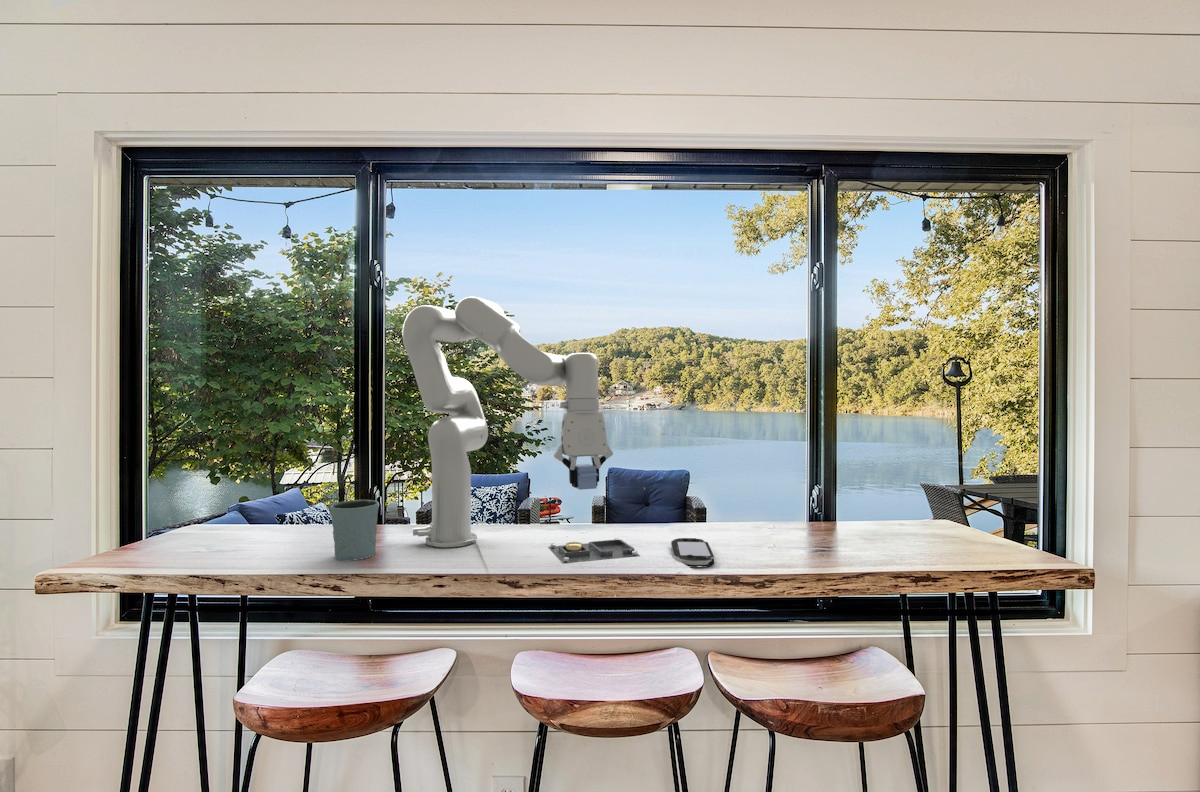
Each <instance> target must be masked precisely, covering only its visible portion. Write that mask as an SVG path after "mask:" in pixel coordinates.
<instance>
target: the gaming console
mask: <svg viewBox="0 0 1200 792" xmlns="http://www.w3.org/2000/svg"><path fill="white" fill-rule="evenodd" d="M670 547H671V552H672V556H673V557H672V558H673V559H674V560H675V561H677V562H680V563H682V564H683V565H685V566H686V567H688V566H708V567H710V566H712V565H713V564H714V563H715V556H714V553H713V551H712V548H711V547H710V544H709V542H708V541H705V540H704V539H702V538H696V537H695V538H694V537H692V538H691V537H690V538H688V537H680V538H675V539H672V540H671V541H670ZM709 565H710V566H709Z"/></svg>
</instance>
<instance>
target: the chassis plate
mask: <svg viewBox="0 0 1200 792" xmlns="http://www.w3.org/2000/svg"><path fill="white" fill-rule="evenodd" d="M547 548H548V549H549V550H550V551H551V552H552V553H553V555H554V556H556V558H557V559H558V560H559V561H560V563H562V564H569V563H570V564H571V563H572V564H573V563H582V562H583V563H585V562H592V561H602V560H603V561H604V560H613V559H614V560H615V559H624V558H633V557H634V558H635V557H641V555H640V554H638V550H635V547H633V546H631V545H630V544H629V543H627V542H625V541H624V540H622V539H619V538H617V537H615V538H613V539H608V540H607V539H605V540H597V541H595V540H594V541H589V542H588V543H582V551H572V552H567V551H566V544H565V545H556V543H554V542H553V543H550V544H549V546H547Z"/></svg>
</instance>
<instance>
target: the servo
mask: <svg viewBox="0 0 1200 792" xmlns="http://www.w3.org/2000/svg"><path fill="white" fill-rule="evenodd" d="M576 470H577V482H578V487H576V488H575V489H577V490H579V491H581V490H593V489H597V488H598V485H596V476H598V473H596V466H593V465H592V463H591V464H590V463H581V464H577V463H576Z"/></svg>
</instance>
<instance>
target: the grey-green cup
mask: <svg viewBox="0 0 1200 792" xmlns="http://www.w3.org/2000/svg"><path fill="white" fill-rule="evenodd" d="M379 504H380V503H379V501H377V500H373V499H351V500H343V501H340V502H339V501H338V502H336V503H333V504H331V505H330V506H329V507H330V508H329V509H330V513H331V514H330V516H331V525H332V529H333V530H332V535H333V536H332V537H333V541H334V544H333V545H334V547H333V548H334V558H335V559H336V558H337V559H340V560H339V561H342V560H354V559H361V558H366V557H369V556H372V555H374V556H375V554H376V547H377V546H376V543H377V524H378V514H379ZM372 557H373V556H372ZM369 558H370V557H369ZM337 559H336V560H337ZM366 559H367V558H366ZM354 561H355V560H354Z"/></svg>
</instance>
